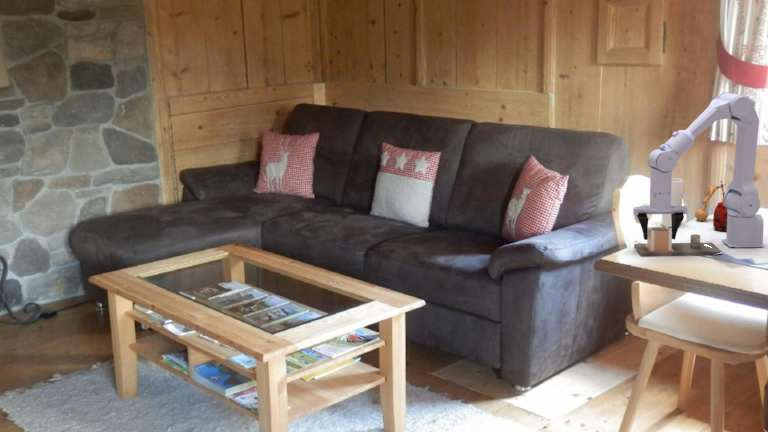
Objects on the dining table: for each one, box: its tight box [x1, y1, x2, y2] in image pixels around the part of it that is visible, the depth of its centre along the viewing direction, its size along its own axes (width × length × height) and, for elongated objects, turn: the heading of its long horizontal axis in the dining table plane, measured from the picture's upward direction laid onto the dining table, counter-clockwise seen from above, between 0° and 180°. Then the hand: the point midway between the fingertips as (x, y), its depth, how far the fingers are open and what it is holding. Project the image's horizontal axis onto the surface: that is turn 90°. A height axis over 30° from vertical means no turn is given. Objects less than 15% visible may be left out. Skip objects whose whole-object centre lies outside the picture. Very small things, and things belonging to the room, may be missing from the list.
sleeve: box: [646, 226, 673, 251], centre depth 243 cm, size 6×6×6 cm
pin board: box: [633, 233, 723, 257], centre depth 243 cm, size 22×10×4 cm, turn 84°
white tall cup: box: [661, 177, 684, 228], centre depth 270 cm, size 7×7×15 cm
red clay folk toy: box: [712, 180, 728, 232], centre depth 263 cm, size 8×7×15 cm
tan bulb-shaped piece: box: [694, 184, 717, 222], centre depth 275 cm, size 8×6×12 cm
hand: (659, 238), depth 243 cm, fingers open, 7 cm apart
